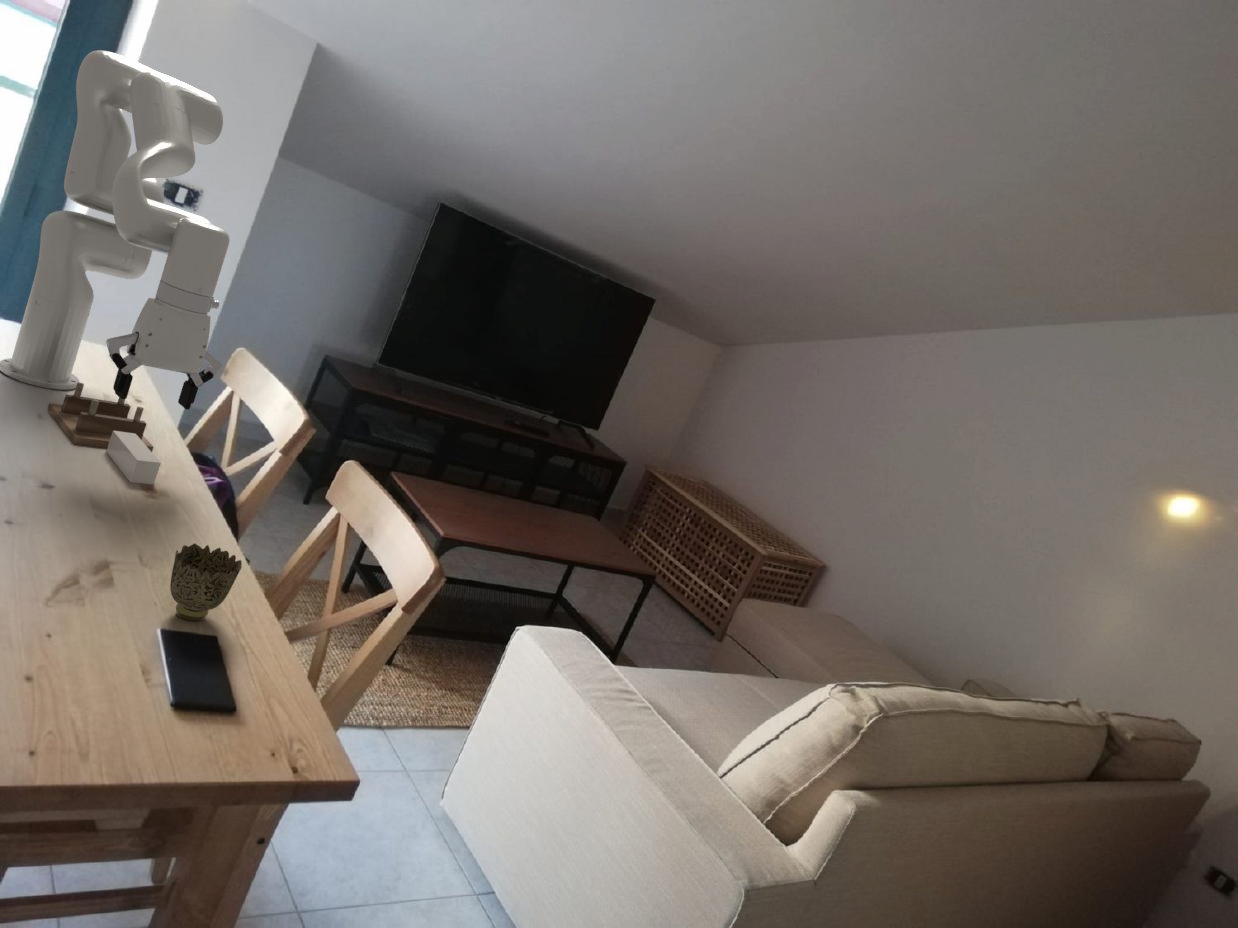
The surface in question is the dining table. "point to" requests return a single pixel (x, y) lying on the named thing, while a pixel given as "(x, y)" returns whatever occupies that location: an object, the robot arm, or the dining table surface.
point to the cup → (201, 580)
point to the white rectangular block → (133, 457)
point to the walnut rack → (96, 419)
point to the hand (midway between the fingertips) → (152, 401)
